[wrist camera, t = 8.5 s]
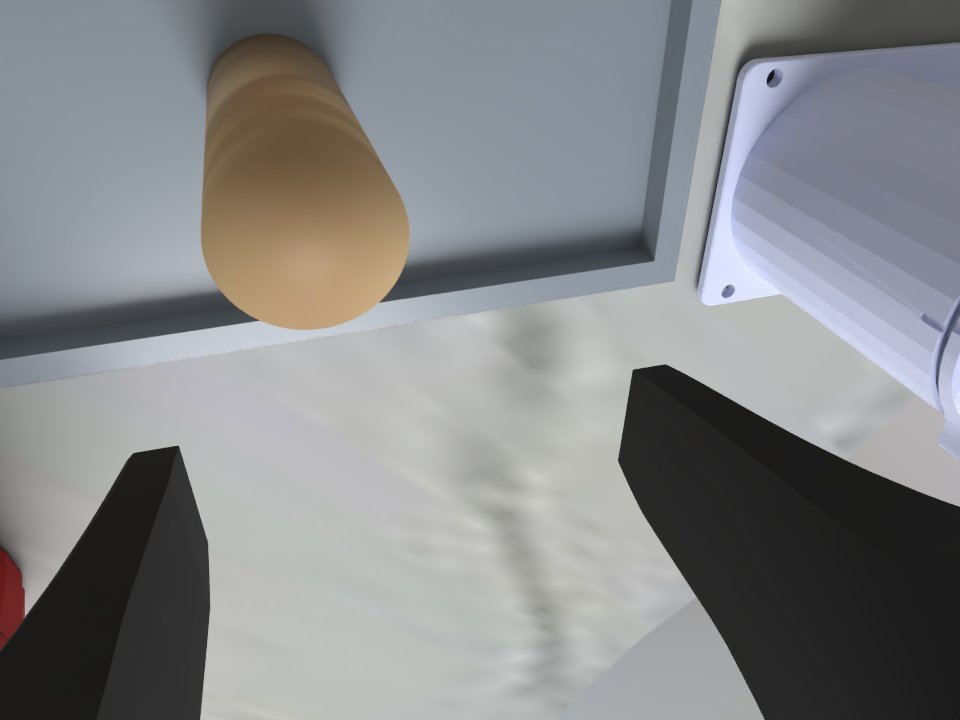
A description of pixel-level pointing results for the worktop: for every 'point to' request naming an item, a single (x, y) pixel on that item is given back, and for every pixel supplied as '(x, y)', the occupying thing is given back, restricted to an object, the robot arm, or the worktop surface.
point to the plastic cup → (10, 598)
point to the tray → (390, 129)
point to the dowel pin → (294, 191)
